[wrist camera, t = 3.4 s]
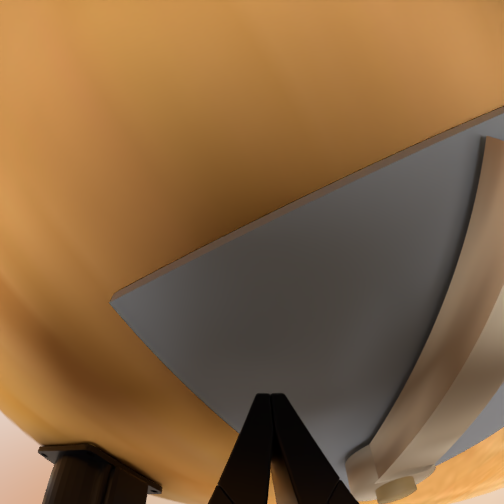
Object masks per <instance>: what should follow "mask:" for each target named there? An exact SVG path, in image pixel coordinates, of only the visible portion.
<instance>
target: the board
mask: <svg viewBox="0 0 504 504" xmlns="http://www.w3.org/2000/svg"><path fill="white" fill-rule="evenodd" d="M486 136H490V137H493V138H496V139H499V140H502V141H504V106H503V107H501V108H499V109H496V110H494V111H491V112H489V113H487V114H484V115H482V116H480V117H477V118H475V119H473V120H470V121H468V122H466V123H463V124H461V125H459V126H456V127H454V128H452V129H450V130H447V131H445V132H443V133H441V134H438V135H436V136H434V137H432V138H429V139H427V140H425V141H423V142H420V143H418V144H416V145H414V146H411V147H409V148H407V149H405V150H403V151H400V152H398V153H396V154H394V155H392V156H389V157H387V158H385V159H383V160H381V161H379V162H376V163H374V164H372V165H370V166H368V167H366V168H363V169H361V170H359V171H357V172H355V173H353V174H351V175H349V176H346V177H344V178H342V179H340V180H338V181H336V182H334V183H332V184H329V185H327V186H325V187H323V188H321V189H319V190H317V191H315V192H313V193H311V194H309V195H307V196H304V197H302V198H300V199H298V200H296V201H294V202H292V203H290V204H288V205H286V206H284V207H282V208H280V209H278V210H276V211H274V212H272V213H270V214H268V215H265V216H263V217H261V218H259V219H257V220H255V221H253V222H251V223H249V224H247V225H245V226H243V227H241V228H239V229H237V230H235V231H233V232H231V233H229V234H227V235H225V236H223V237H221V238H219V239H217V240H215V241H213V242H211V243H210V244H208V245H206V246H204V247H202V248H200V249H198V250H196V251H194V252H192V253H190V254H188V255H186V256H184V257H182V258H180V259H178V260H176V261H174V262H173V263H171V264H169V265H167V266H165V267H163V268H161V269H159V270H157V271H155V272H153V273H151V274H149V275H148V276H146V277H144V278H142V279H140V280H138V281H136V282H134V283H132V284H131V285H129V286H127V287H125V288H123V289H121V290H119V291H117V292H116V293H114V295H113V297H112V298H111V300H110V302H109V303H110V305H111V306H112V307H113V308H114V309H115V311H116V312H117V313H118V314H119V315H120V316H121V318H122V319H123V320H124V321H125V322H126V323H127V324H128V326H129V327H130V328H131V329H132V330H133V331H134V332H135V333H136V335H137V336H138V337H139V338H140V339H141V340H142V341H143V342H144V343H145V344H146V346H147V347H148V348H149V349H150V350H151V351H152V352H153V353H154V354H155V355H156V356H157V357H158V358H159V359H160V360H161V361H162V362H163V363H164V364H165V365H166V366H167V367H168V368H169V370H170V371H171V372H172V373H173V374H174V375H175V376H176V377H178V378H179V379H180V380H181V381H182V382H183V383H184V384H185V385H186V386H187V387H188V388H189V389H190V390H191V391H192V392H193V393H194V394H195V395H196V396H197V397H198V398H199V399H201V400H202V401H203V402H204V403H205V404H206V405H207V406H208V407H209V408H210V409H211V410H213V411H214V412H215V413H216V414H217V415H218V416H219V417H220V418H222V419H223V420H224V421H225V422H226V423H227V424H229V425H230V426H231V427H232V428H233V429H234V430H236V431H237V432H238V433H239V434H240V431H241V429H242V427H243V424H244V422H245V419H246V417H247V415H248V412H249V410H250V407H251V405H252V402H253V400H254V397H255V395H256V394H257V393H269V394H271V393H284V394H285V395H286V396H287V398H288V400H289V401H290V403H291V404H292V406H293V408H294V409H295V411H296V412H297V414H298V415H299V417H300V418H301V420H302V422H303V423H304V425H305V426H306V428H307V429H308V431H309V432H310V434H311V435H312V437H313V438H314V440H315V441H316V443H317V444H318V446H319V447H320V449H321V450H322V452H323V453H324V455H325V456H326V458H327V459H328V461H329V462H330V464H331V465H332V467H333V468H334V470H335V471H336V473H337V474H338V476H339V477H340V479H339V480H342V481H343V483H344V484H345V486H346V487H347V488H348V490H349V491H350V487H349V482H348V477H347V472H346V468H345V463H346V461H347V460H348V458H349V457H350V456H351V455H353V454H354V453H355V452H357V451H358V450H360V449H362V448H363V447H365V446H367V445H369V444H370V443H371V441H372V440H373V438H374V437H375V435H376V434H377V432H378V430H379V429H380V427H381V426H382V424H383V422H384V421H385V419H386V417H387V416H388V414H389V413H390V411H391V409H392V407H393V406H394V404H395V402H396V400H397V399H398V397H399V395H400V393H401V392H402V390H403V388H404V386H405V384H406V382H407V380H408V379H409V377H410V375H411V373H412V371H413V369H414V367H415V365H416V363H417V361H418V359H419V357H420V355H421V353H422V351H423V348H424V346H425V344H426V342H427V340H428V338H429V335H430V333H431V331H432V329H433V326H434V324H435V322H436V319H437V317H438V314H439V312H440V309H441V307H442V304H443V302H444V299H445V297H446V294H447V291H448V289H449V286H450V283H451V280H452V278H453V275H454V272H455V269H456V266H457V263H458V260H459V257H460V253H461V250H462V247H463V244H464V240H465V237H466V233H467V230H468V226H469V222H470V218H471V214H472V210H473V206H474V202H475V198H476V193H477V189H478V184H479V179H480V174H481V168H482V163H483V157H484V150H485V143H486ZM503 427H504V382H503V383H502V385H501V386H500V388H499V389H498V390H497V392H496V393H495V395H494V396H493V397H492V399H491V400H490V401H489V403H488V404H487V405H486V407H485V408H484V409H483V410H482V412H481V413H480V414H479V415H478V417H477V418H476V419H475V420H474V422H473V423H472V424H471V425H470V426H469V427H468V429H467V430H466V431H465V432H464V433H463V434H462V436H461V437H460V438H459V439H458V440H457V441H456V442H455V443H454V444H453V445H452V447H451V448H450V449H449V450H448V451H447V452H446V453H445V454H444V455H443V456H442V457H441V458H440V459H439V460H438V461H437V462H436V463H435V466H436V465H439V464H441V463H443V462H445V461H447V460H448V459H450V458H452V457H454V456H456V455H458V454H460V453H462V452H464V451H465V450H467V449H469V448H471V447H472V446H474V445H476V444H477V443H479V442H481V441H483V440H484V439H486V438H487V437H489V436H491V435H492V434H494V433H495V432H497V431H498V430H500V429H501V428H503Z"/></svg>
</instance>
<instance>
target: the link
mask: <svg viewBox="0 0 504 504" xmlns="http://www.w3.org/2000/svg"><path fill="white" fill-rule="evenodd" d="M503 382H504V141H502V140H499V139H496V138H493V137H490V136H486V143H485V150H484V157H483V163H482V168H481V174H480V179H479V184H478V189H477V193H476V198H475V202H474V206H473V210H472V214H471V218H470V222H469V226H468V230H467V233H466V237H465V240H464V244H463V247H462V250H461V253H460V257H459V260H458V263H457V266H456V269H455V272H454V275H453V278H452V280H451V283H450V286H449V289H448V291H447V294H446V297H445V299H444V302H443V304H442V307H441V309H440V312H439V314H438V317H437V319H436V322H435V324H434V326H433V329H432V331H431V333H430V335H429V338H428V340H427V342H426V344H425V346H424V348H423V351H422V353H421V355H420V357H419V359H418V361H417V363H416V365H415V367H414V369H413V371H412V373H411V375H410V377H409V379H408V380H407V382H406V384H405V386H404V388H403V390H402V392H401V393H400V395H399V397H398V399H397V400H396V402H395V404H394V406H393V407H392V409H391V411H390V413H389V414H388V416H387V417H386V419H385V421H384V422H383V424H382V426H381V427H380V429H379V430H378V432H377V434H376V435H375V437H374V438H373V440H372V441H371V443H370V444H369V445H367V446H365V447H363V448H362V449H360V450H358V451H357V452H355V453H354V454H353V455H351V456H350V457H349V458H348V460H347V461H346V463H345V468H346V472H347V477H348V482H349V487H350V492H351V494H352V495H353V496H354V498H355V499H356V500H357V501H370V500H376V499H377V501H378V503H379V504H385V503H389V502H393V501H396V500H399V499H402V498H404V497H406V496H408V495H410V494H412V493H413V492H415V491H416V490H417V487H416V484H418V483H420V482H421V481H423V480H424V479H426V478H427V477H428V476H430V475H431V474H432V473H433V472H434V470H435V468H436V467H435V463H436V462H437V461H438V460H439V459H440V458H441V457H442V456H443V455H444V454H445V453H446V452H447V451H448V450H449V449H450V448H451V447H452V445H453V444H454V443H455V442H456V441H457V440H458V439H459V438H460V437H461V436H462V434H463V433H464V432H465V431H466V430H467V429H468V427H469V426H470V425H471V424H472V423H473V422H474V420H475V419H476V418H477V417H478V415H479V414H480V413H481V412H482V410H483V409H484V408H485V407H486V405H487V404H488V403H489V401H490V400H491V399H492V397H493V396H494V395H495V393H496V392H497V390H498V389H499V388H500V386H501V385H502V383H503Z"/></svg>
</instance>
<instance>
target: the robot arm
mask: <svg viewBox="0 0 504 504" xmlns="http://www.w3.org/2000/svg"><path fill="white" fill-rule="evenodd" d="M38 453H39V454H41V455H42V456H43V457H45V458H46V459H47V460H49V461H51V462H52V463H53V464H54V467H53V470H52V473H51V476H50V479H49V483H48V486H47V489H46V492H45V495H44V499H43V502H42V504H146V498H147V494H161V493H162V487H161V486H159V485H158V484H156V483H154V482H152V481H150V480H148V479H146V478H145V477H143V476H141V475H139V474H138V473H136V472H134V471H133V470H131V469H129V468H128V467H126V466H124V465H123V464H121V463H119V462H118V461H116V460H115V459H113V458H112V457H110V456H109V455H107V454H106V453H104V452H103V451H101V450H100V449H98V448H97V447H95V446H92V445H89V444H80V445H66V446H43V447H39V450H38ZM270 470H271V473H272V479H273V484H274V490H275V496H276V502H277V504H359V503H358V502H357V500H356V499H355V498H354V496H353V495H352V494H351V492H350V491H349V490H348V488H347V487H346V486H345V484H344V483H343V481H342V480H339V479H340V477H339V476H338V474H337V473H336V471H335V470H334V468H333V467H332V465H331V464H330V462H329V461H328V459H327V458H326V456H325V455H324V453H323V452H322V450H321V449H320V447H319V446H318V444H317V443H316V441H315V440H314V438H313V437H312V435H311V434H310V432H309V431H308V429H307V428H306V426H305V425H304V423H303V422H302V420H301V418H300V417H299V415H298V414H297V412H296V411H295V409H294V408H293V406H292V404H291V403H290V401H289V400H288V398H287V396H286V395H285V394H284V393H271V394H269V393H257V394H256V395H255V397H254V400H253V402H252V405H251V407H250V410H249V412H248V415H247V417H246V419H245V422H244V424H243V427H242V429H241V431H240V434H239V436H238V439H237V441H236V443H235V446H234V448H233V450H232V452H231V455H230V457H229V459H228V462H227V464H226V466H225V468H224V471H223V473H222V475H221V477H220V480H219V482H218V485H217V486H216V488H215V490H214V492H213V494H212V497H211V498H210V500H209V502H208V504H267V500H268V490H269V480H270Z"/></svg>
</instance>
